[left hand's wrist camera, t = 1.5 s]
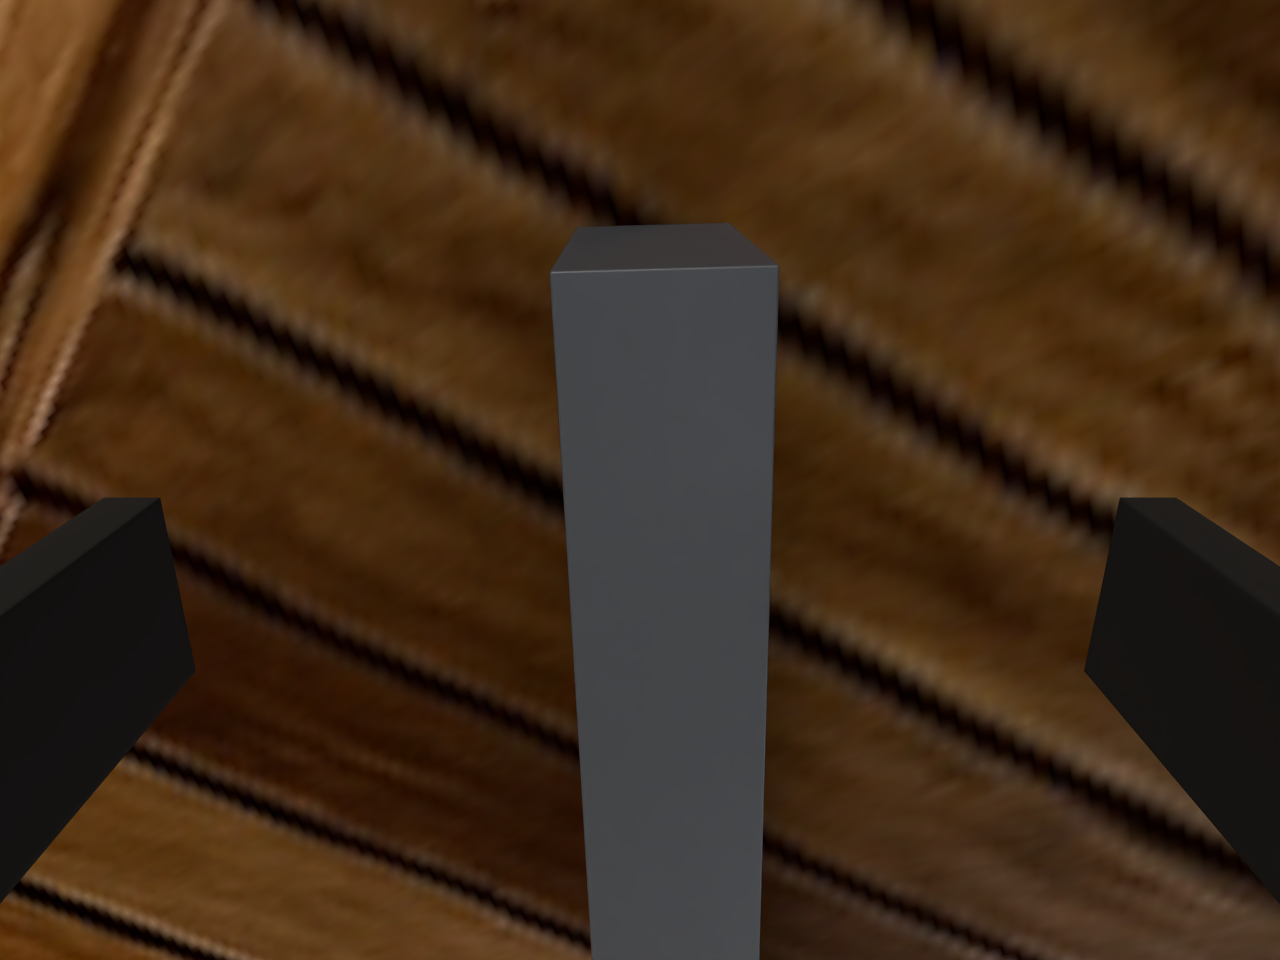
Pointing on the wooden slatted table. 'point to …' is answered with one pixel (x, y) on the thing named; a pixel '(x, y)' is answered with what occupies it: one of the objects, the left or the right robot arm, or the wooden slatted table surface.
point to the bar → (669, 576)
